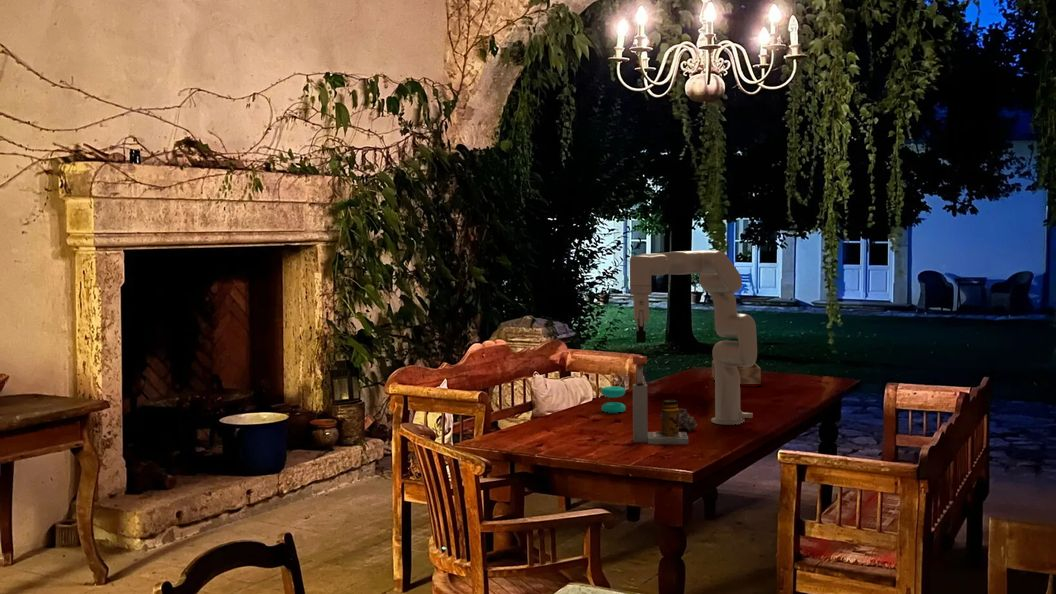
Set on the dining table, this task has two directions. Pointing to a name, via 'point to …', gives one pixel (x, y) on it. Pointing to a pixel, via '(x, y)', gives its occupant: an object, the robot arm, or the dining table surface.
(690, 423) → the mineral specimen
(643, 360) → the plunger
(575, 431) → the dining table surface
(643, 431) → the grey l-shaped piece
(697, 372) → the dining table surface
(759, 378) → the toy crate
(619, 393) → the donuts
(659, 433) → the condiment
